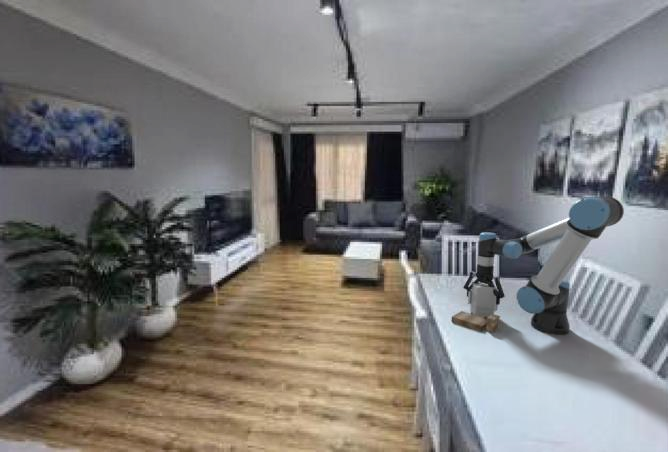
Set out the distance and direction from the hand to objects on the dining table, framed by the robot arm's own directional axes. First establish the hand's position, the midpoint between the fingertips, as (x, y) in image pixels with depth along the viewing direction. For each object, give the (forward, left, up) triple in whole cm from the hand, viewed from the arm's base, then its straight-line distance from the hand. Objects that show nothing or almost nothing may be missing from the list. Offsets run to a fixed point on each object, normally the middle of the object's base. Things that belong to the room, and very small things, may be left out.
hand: (482, 306), depth 180 cm
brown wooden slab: (-2, +15, -4) cm, 15 cm away
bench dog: (-11, +14, -4) cm, 18 cm away
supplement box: (0, 0, -4) cm, 4 cm away
